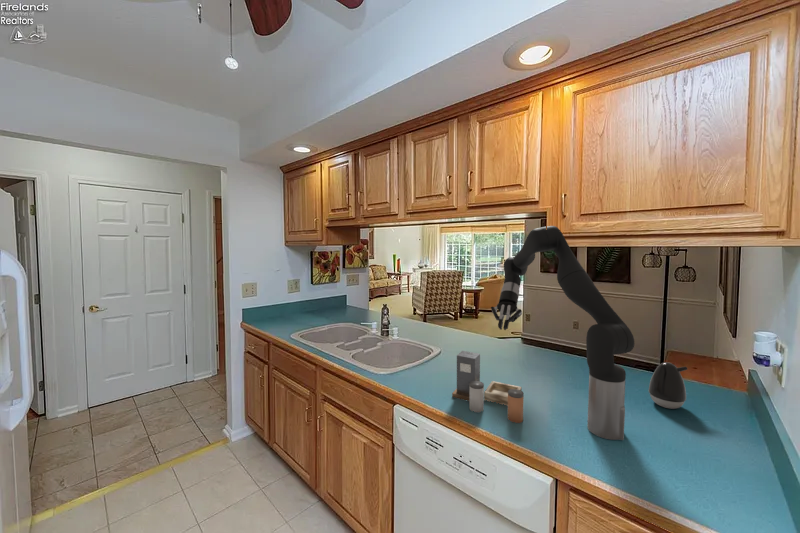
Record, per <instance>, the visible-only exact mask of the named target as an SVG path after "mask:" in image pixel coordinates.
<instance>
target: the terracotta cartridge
mask: <svg viewBox="0 0 800 533" xmlns="http://www.w3.org/2000/svg"><path fill="white" fill-rule="evenodd" d="M524 396H525V395H524V391H522V390H518V389H510V390H508V406H507V420H508V421H509V420H510V421H509V422H511V423H514V422H515V424H521V423H523V422H524Z"/></svg>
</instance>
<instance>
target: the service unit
mask: <svg viewBox="0 0 800 533" xmlns="http://www.w3.org/2000/svg"><path fill="white" fill-rule="evenodd" d="M471 381H480V382H481V353H479V352H478V353H477V352H471V351H465V350H461V351H460V352H459V353H458V354H457V355H456V388H455V390H453V392H452V393H451V396H452V398H454V397H455V399H459V400H463V401H466V400H467V402H469V392H470V382H471Z"/></svg>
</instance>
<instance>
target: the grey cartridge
mask: <svg viewBox="0 0 800 533" xmlns="http://www.w3.org/2000/svg"><path fill="white" fill-rule="evenodd" d="M484 388H485V384H484V382H483V381H481V380H480V381H471V382H470V392H469V401H468V403H469V410H470V411H471V412H473V411H474V412H473V413H482V412H483V411H484V405H485V404H484V402H485V400H484V392H485V389H484ZM481 411H482V412H481Z"/></svg>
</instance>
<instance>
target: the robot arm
mask: <svg viewBox="0 0 800 533" xmlns="http://www.w3.org/2000/svg"><path fill="white" fill-rule="evenodd" d="M549 251H550V252H551V251H553V252H554V253H555V254H556V256H557V258H558V267H557V272H556V273H557V274H556V280H557V283H558V285H559V286H560V288H561V290H562V291H563V293H564V294H565V296H566V297H567V298H568V299H569V300H570V301H571V302H572V303H574V304H575V305H577V307H579V308H581V309H582V310H583V311H585V312H586V313H587V314H588V315H589V316H591V317H592V319H593V320H594V321H595V324H593V325H590V327H589V328H588V330H587V331H586V339H585V341H586V342H585V344H586V345H585V346H586V363H587V366H588V369H589V370H588V372H589V373H588V376H589V377H588V397H587V398H588V399H587V401H588V403H587V421H586V422H587V429H588V431H589V432H590V433H592V434H593V435H594V436H596V437H599V438H602V439H606V440H610V441H611V440H614V441H617V440H620V441H624V440H625V419H626V417H625V416H626V407H625V403H626V402H625V400H626V399H625V398H626V396H625V395H626V379H627V378H626V376H627V374H626V370H625V369H624V367H622V366H620V365H618V364H615V362H614V361H615V359H614V356H615V355H622V354H628V353H630V352H631V351H633V349H634V348H635V338H634V335H633V333H632V331H631V329H630V328H629V326H628V325H627V324H626V323H625V321H624V320H622V318H621V317H620V316H619V315H618V313H617V312H616V311H615V310H614V309H613V308H612V307H611V306H610V304H609V302H607V300H606V299H605V297H604V296H603V295H602V293H601V292H600V291H599V289H598V288H597V286H596V285H595V283H594V281H593V280H592V278H591V277H590V275H589V274H588V272H587V271H586V270H585V269H584V267H583V266H582V265H581V263H580V262H579V260H578V258H577V257H576V255H575V254H574V252H573V251H572V249H571V247H570V245H569V243H568V241H567V240H566V237H565V236H564V235H563V232H562V231H561V230H560V229H559V227H558V226H557V225H556V226H555V225H547V230H546V226H541V227H537V228H533V229H532V230H530V231H529V233H528V235H527V236H526V238H525V240H524V242H523V245H522V247H521V249H520V250H519V251H518V253H517V254H515V256H514V257H511V256H510V257H507V258H506V259H505V261H504V262H503V274H504V281H503V284H502V287H501V290H500V296H499V300H498V303H497V304H496V306H491V307H490V309H491V312H492V314H493V316H494V319H495V321H498V323H497V327H498V329H499V330H502V329H503V330H504V331H506V330H508V329H509V324H510V323H515V321H517V319H519V318H520V317H521V316H522V315H523V311H522V308H518V300H519V296H520V288H521V282H522V278H521V277H522V276H525V275H526V274H527V272H528V271H527V270H528V267H529V266H530V265H531V264H532V263H533V262H534V260H535V258H536V254H537V253H543V252H545V253H546V252H549ZM497 312H499V315H498V313H497ZM504 318H505V319H504Z"/></svg>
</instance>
